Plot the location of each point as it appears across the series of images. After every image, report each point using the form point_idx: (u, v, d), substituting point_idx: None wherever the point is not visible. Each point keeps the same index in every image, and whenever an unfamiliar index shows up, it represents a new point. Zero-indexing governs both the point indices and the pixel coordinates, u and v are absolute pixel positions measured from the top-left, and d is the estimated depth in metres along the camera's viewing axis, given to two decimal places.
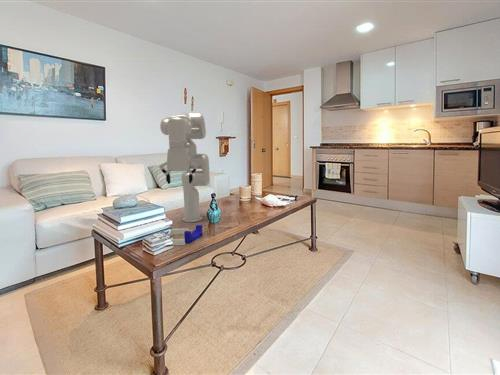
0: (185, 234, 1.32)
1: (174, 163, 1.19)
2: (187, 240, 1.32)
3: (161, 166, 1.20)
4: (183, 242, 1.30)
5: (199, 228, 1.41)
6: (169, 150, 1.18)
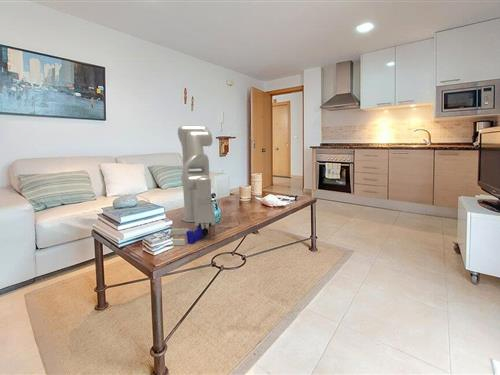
0: (187, 234, 1.32)
1: (201, 217, 1.34)
2: (190, 240, 1.32)
3: (196, 223, 1.36)
4: (183, 242, 1.30)
5: None
6: (197, 206, 1.33)
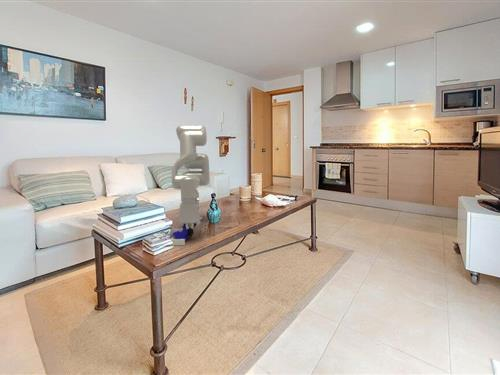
0: (175, 235, 1.30)
1: (186, 217, 1.33)
2: None
3: (180, 223, 1.35)
4: (183, 242, 1.30)
5: None
6: (181, 206, 1.32)
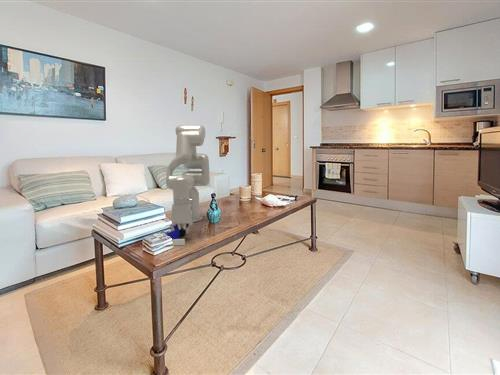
0: (168, 235, 1.30)
1: (178, 217, 1.33)
2: None
3: (173, 224, 1.35)
4: (183, 242, 1.30)
5: None
6: (173, 206, 1.32)
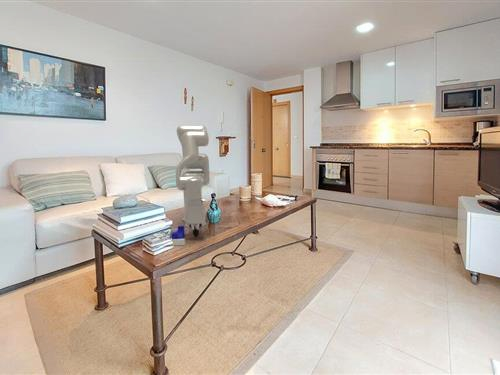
0: (172, 236, 1.30)
1: (191, 217, 1.34)
2: None
3: (186, 224, 1.36)
4: (183, 242, 1.30)
5: (182, 229, 1.40)
6: (187, 206, 1.33)
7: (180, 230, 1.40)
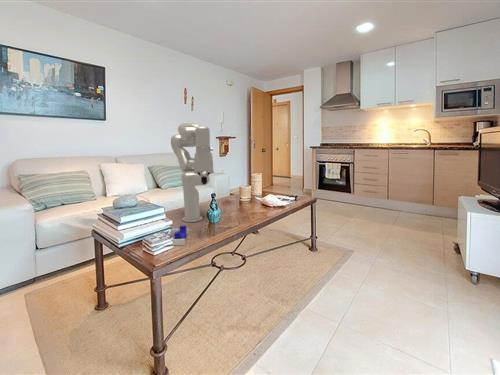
0: (175, 236, 1.30)
1: (200, 165, 1.41)
2: None
3: (195, 171, 1.43)
4: (183, 242, 1.30)
5: (184, 229, 1.40)
6: (196, 154, 1.40)
7: (182, 230, 1.40)
